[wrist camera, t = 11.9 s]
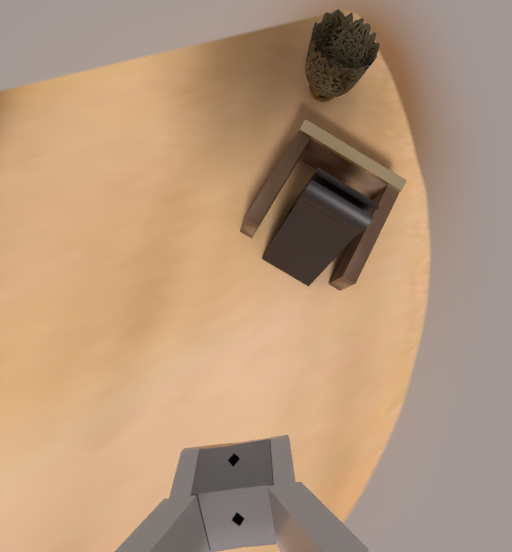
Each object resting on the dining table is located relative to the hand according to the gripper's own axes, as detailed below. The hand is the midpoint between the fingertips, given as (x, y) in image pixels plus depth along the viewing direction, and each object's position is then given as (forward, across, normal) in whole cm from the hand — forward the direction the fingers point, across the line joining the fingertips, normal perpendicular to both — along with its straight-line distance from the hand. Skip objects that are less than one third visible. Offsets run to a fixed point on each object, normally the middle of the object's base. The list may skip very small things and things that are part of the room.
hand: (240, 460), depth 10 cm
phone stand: (+32, -6, 0) cm, 32 cm away
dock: (+33, -8, -2) cm, 34 cm away
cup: (+42, -12, -16) cm, 46 cm away
